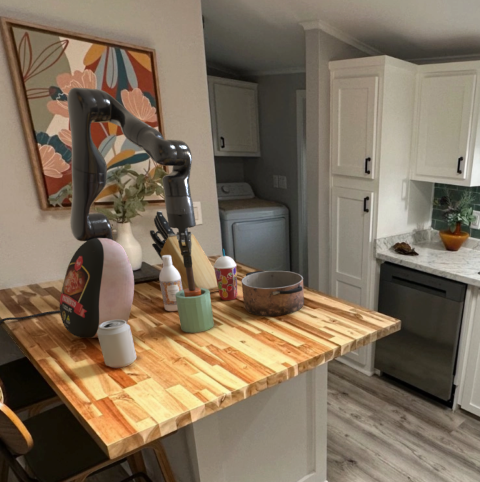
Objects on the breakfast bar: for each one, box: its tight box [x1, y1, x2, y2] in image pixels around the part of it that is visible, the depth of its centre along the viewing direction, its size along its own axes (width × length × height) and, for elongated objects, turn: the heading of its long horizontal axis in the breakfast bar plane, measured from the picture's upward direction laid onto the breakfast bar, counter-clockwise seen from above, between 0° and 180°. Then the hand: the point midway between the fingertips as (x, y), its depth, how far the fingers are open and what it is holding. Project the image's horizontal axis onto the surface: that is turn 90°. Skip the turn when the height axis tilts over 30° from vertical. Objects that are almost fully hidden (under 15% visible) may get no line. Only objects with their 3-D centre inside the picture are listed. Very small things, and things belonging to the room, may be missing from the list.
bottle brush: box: [184, 250, 201, 297], centre depth 131 cm, size 5×5×18 cm
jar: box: [175, 288, 215, 333], centre depth 135 cm, size 10×10×12 cm
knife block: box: [149, 210, 219, 293], centre depth 170 cm, size 11×35×31 cm, turn 54°
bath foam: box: [158, 255, 183, 312], centre depth 148 cm, size 7×7×20 cm
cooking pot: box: [241, 270, 305, 317], centre depth 156 cm, size 30×22×11 cm
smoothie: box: [213, 248, 239, 301], centre depth 160 cm, size 8×8×20 cm
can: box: [97, 319, 137, 369], centre depth 111 cm, size 8×8×12 cm
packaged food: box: [59, 238, 135, 339], centre depth 126 cm, size 22×20×30 cm
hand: (188, 265), depth 130 cm, fingers closed on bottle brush
